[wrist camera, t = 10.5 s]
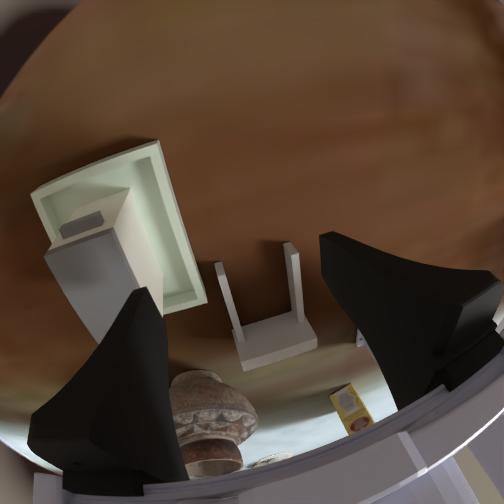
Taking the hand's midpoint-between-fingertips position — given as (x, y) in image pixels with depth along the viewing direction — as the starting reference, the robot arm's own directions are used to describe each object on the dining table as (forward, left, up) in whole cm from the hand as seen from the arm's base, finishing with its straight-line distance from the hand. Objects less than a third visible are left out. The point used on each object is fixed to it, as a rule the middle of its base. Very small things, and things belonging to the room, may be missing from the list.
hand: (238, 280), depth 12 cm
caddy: (-1, +7, -9) cm, 11 cm away
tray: (-1, +7, -10) cm, 12 cm away
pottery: (-24, +13, -10) cm, 29 cm away
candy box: (-37, -12, -10) cm, 40 cm away
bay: (-9, -2, -10) cm, 13 cm away
